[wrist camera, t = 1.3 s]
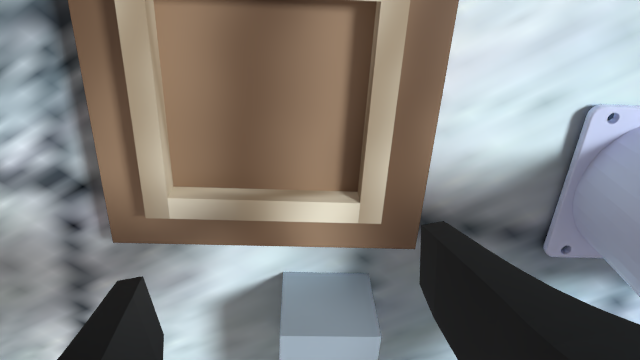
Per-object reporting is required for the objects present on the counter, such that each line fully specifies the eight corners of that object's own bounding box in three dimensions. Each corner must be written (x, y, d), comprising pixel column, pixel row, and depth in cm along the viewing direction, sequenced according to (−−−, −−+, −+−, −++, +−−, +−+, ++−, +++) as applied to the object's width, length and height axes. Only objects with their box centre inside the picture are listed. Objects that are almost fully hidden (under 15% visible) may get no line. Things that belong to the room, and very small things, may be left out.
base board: (461, -91, 17) (485, -95, 15) (408, 231, 23) (419, 262, 21) (66, -115, 16) (29, -123, 14) (124, 224, 23) (104, 255, 20)
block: (368, 272, 25) (381, 337, 21) (360, 334, 27) (370, 404, 23) (283, 270, 24) (279, 336, 20) (282, 333, 26) (278, 404, 22)
